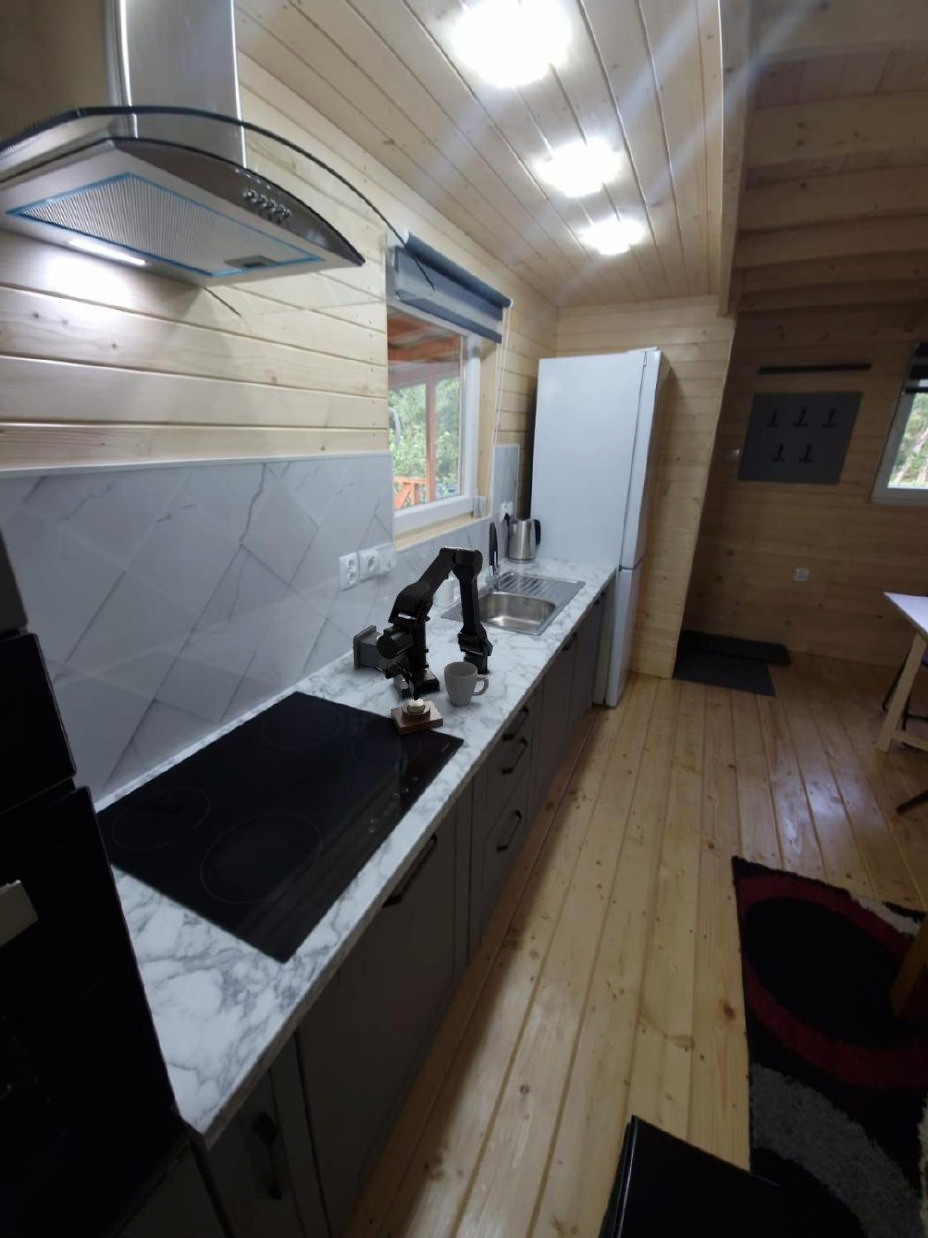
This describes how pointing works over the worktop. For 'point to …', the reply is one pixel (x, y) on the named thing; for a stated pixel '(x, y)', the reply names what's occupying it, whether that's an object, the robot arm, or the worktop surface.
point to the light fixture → (366, 648)
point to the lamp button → (416, 705)
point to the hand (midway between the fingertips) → (415, 699)
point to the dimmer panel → (407, 686)
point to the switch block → (416, 718)
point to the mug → (463, 682)
